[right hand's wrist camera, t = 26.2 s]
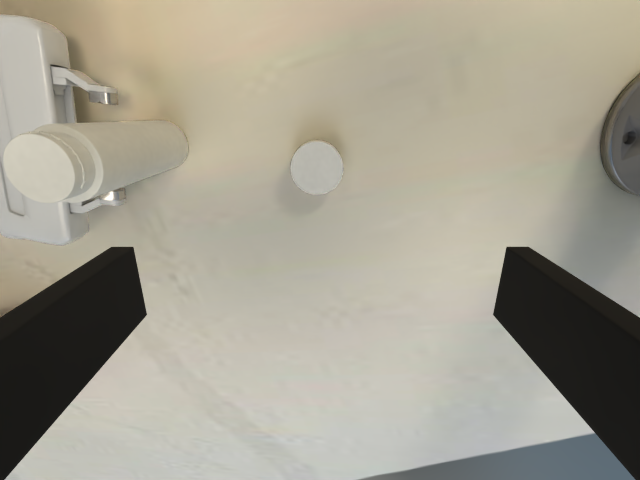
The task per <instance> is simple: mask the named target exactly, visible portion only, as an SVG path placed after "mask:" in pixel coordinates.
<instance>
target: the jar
mask: <svg viewBox="0 0 640 480" xmlns="http://www.w3.org/2000/svg"><path fill="white" fill-rule="evenodd" d="M187 154H188V141H187V138H186V136H185V134H184V133H183V131H182V130H181V129H180V128H179V127H178V126H177V125H175V124H174V123H172V122H169V121H166V120H144V121H116V122H88V123H60V124H47V125H43V126H40V127H38V128H37V129H35V130H34V131H29V132H25V133H23V134H19V135H18V136H16V137H15V138H13V139H12V140H11V141H10V142H9V143H8V144H7V146H6V148H5V151H4V156H3V163H4V168H5V171H6V176H7V177H8V179H9V180H10V182H11V183H12V184H13V185H14V186H15V188H16V189H17V190H18V191H20V192H21V193H22V194H23V195H25V196H26V197H28V198H30V199H32V200H34V201H37V202H41V203H56V202H60V201H63V202H69V203H78V202H83V201H86V200H89V199H91V198H94V197H97V196H99V195H102V194H105V193H108V192H110V191H113V190H116V189H118V188H121V187H124V186H127V185H129V184H132V183H135V182H137V181H140V180H143V179H146V178H148V177H151V176H154V175H156V174H159V173H162V172H165V171H167V170H170V169H173V168H175V167H178V166H180V165H181V164H182V163H183V162H184V161H185V159H186V157H187Z"/></svg>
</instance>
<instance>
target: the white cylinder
mask: <svg viewBox="0 0 640 480" xmlns="http://www.w3.org/2000/svg"><path fill="white" fill-rule="evenodd" d="M343 168H344V167H343V161H342V158H341V156H340V154H339V152H338V151H337V149H336V148H335V147H334V146H333V145H332V144H330V143H328V142H326V141H323V140H311V141H308V142H306V143H304V144H303V145H301V146H300V147H299V148H298V149H297V151H296V152H295V154H294V156H293V158H292V160H291V166H290V171H291V176H292V178H293V181H294V182H295V184H296V185H297V186H298V187H299V188H300V189H301V190H302V191H304V192H306V193H308V194H312V195H322V194H326V193H328V192H330V191H332V190H333V189H334V188H335V187H336V186H337V185H338V184H339V182H340V181H341V178H342V175H343Z"/></svg>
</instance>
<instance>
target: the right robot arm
mask: <svg viewBox="0 0 640 480" xmlns="http://www.w3.org/2000/svg"><path fill="white" fill-rule="evenodd" d="M601 158H602V163H603V166H604V169H605V171H606V173H607V175H608V176H609V178H610V179H611V180H612V181H613V182H614V183H615V184H616V185H617V186H618V187H619V188H621V189H622V190H624V191H626V192H628V193H631V194H634V195H638V196H640V74H639V75H638V76H637V77H636V78H635V79H634V80H633V81H632V82H631V83H630V84H629V85H628V86H627V87H626V88H625V89H624V91H623V92H622V93H621V94H620V96H619V97H618V99H617V100H616V101H615V103H614V105H613V107H612V108H611V110H610V112H609V114H608V116H607V119H606V122H605V125H604V128H603V132H602V137H601ZM146 315H147V313H146V308H145V303H144V298H143V293H142V288H141V283H140V278H139V273H138V268H137V263H136V258H135V253H134V248H133V247H111V248H109V249H107V250H106V251H104V252H103V253H101V254H100V255H98V256H96V257H95V258H93V259H92V260H90V261H89V262H87V263H85V264H84V265H82V266H81V267H79V268H78V269H76V270H74V271H73V272H71V273H70V274H68V275H67V276H65V277H63V278H62V279H60V280H59V281H57V282H56V283H54V284H52V285H51V286H49V287H48V288H46V289H45V290H43V291H41V292H40V293H38V294H37V295H35V296H34V297H32V298H30V299H29V300H27V301H26V302H24V303H23V304H21V305H19V306H18V307H16V308H15V309H13V310H12V311H10V312H8V313H7V314H5V315H4V316H2V317H1V318H0V480H4V479H5V478H6V477H7V476H8V475H9V474H10V473H11V471H12V470H13V469H14V468H15V467H16V466H17V464H18V463H19V462H20V461H21V460H22V459H23V457H24V456H25V455H26V454H27V453H28V452H29V451H30V449H31V448H32V447H33V446H34V445H35V444H36V442H37V441H38V440H39V439H40V438H41V437H42V436H43V434H44V433H45V432H46V431H47V430H48V429H49V427H50V426H51V425H52V424H53V423H54V422H55V420H56V419H57V418H58V417H59V416H60V415H61V414H62V412H63V411H64V410H65V409H66V408H67V407H68V405H69V404H70V403H71V402H72V401H73V400H74V398H75V397H76V396H77V395H78V394H79V393H80V392H81V390H82V389H83V388H84V387H85V386H86V385H87V383H88V382H89V381H90V380H91V379H92V378H93V376H94V375H95V374H96V373H97V372H98V371H99V370H100V368H101V367H102V366H103V365H104V364H105V363H106V361H107V360H108V359H109V358H110V357H111V356H112V354H113V353H114V352H115V351H116V350H117V349H118V348H119V346H120V345H121V344H122V343H123V342H124V341H125V339H126V338H127V337H128V336H129V335H130V334H131V332H132V331H133V330H134V329H135V328H136V327H137V326H138V324H139V323H140V322H141V321H142V320H143V319H144V317H145V316H146ZM493 315H494V316H495V317H496V319H497V320H498V321H499V322H500V323H501V324H502V326H503V327H504V328H505V329H506V330H507V331H508V332H509V334H510V335H511V336H512V337H513V338H514V339H515V341H516V342H517V343H518V344H519V345H520V346H521V348H522V349H523V350H524V351H525V352H526V353H527V354H528V356H529V357H530V358H531V359H532V360H533V361H534V363H535V364H536V365H537V366H538V367H539V368H540V370H541V371H542V372H543V373H544V374H545V375H546V376H547V378H548V379H549V380H550V381H551V382H552V383H553V385H554V386H555V387H556V388H557V389H558V390H559V392H560V393H561V394H562V395H563V396H564V397H565V398H566V400H567V401H568V402H569V403H570V404H571V405H572V407H573V408H574V409H575V410H576V411H577V412H578V414H579V415H580V416H581V417H582V418H583V419H584V420H585V422H586V423H587V424H588V425H589V426H590V427H591V429H592V430H593V431H594V432H595V433H596V434H597V435H598V437H599V438H600V439H601V440H602V441H603V442H604V444H605V445H606V446H607V447H608V448H609V449H610V451H611V452H612V453H613V454H614V455H615V456H616V457H617V459H618V460H619V461H620V462H621V463H622V464H623V466H624V467H625V468H626V469H627V470H628V471H629V473H630V474H631V475H632V476H633V477H634V478H635V479H636V480H640V318H639V317H638V316H636V315H635V314H633V313H632V312H630V311H628V310H627V309H625V308H624V307H622V306H621V305H619V304H617V303H616V302H614V301H613V300H611V299H610V298H608V297H606V296H605V295H603V294H602V293H600V292H599V291H597V290H595V289H594V288H592V287H591V286H589V285H588V284H586V283H584V282H583V281H581V280H580V279H578V278H577V277H575V276H573V275H572V274H570V273H569V272H567V271H566V270H564V269H562V268H561V267H559V266H558V265H556V264H555V263H553V262H551V261H550V260H548V259H547V258H545V257H544V256H542V255H540V254H539V253H537V252H536V251H534V250H533V249H531V248H529V247H507V248H506V253H505V258H504V263H503V268H502V273H501V278H500V283H499V288H498V293H497V298H496V303H495V308H494V313H493Z"/></svg>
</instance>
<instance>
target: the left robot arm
mask: <svg viewBox="0 0 640 480" xmlns="http://www.w3.org/2000/svg"><path fill="white" fill-rule="evenodd" d="M73 86H76V87H81V88H82V89H84V90H85V91H87V92H88V93H89V100H90V102H95V103H103V104H115V105H118V92H117V88H113V87H105V86H99V84H98V83H97V82H95V81H94V80H92V79H91V78H90V77H88V76H87V75H85V74H84V73H83V72H81V71H78V70H72V69H70V60H69V52H68V43H67V38H66V36H65V35H64V34H63V33H62V32H61V31H60V30H59V29H58V28H56V27H55V26H54V25H52V24H50V23H47V22H44V21H41V20H38V19H34V18H31V17H26V16H18V15H6V14H0V234H1V235H2V236H4V237H7V238H14V239H28V240H32V241H36V242H41V243H47V244H53V245H66V244H69V243H72V242H74V241H76V240H78V239H79V238H81V237H82V236H84V235H85V234H86V233H87V232H88V231H89V229H90V227H89V218H88V211H90V210H93V209H95V208H97V207H100V206H102V205H112V206H120V205H123V204H125V203H126V194H125V188H118V189H116V190H113V191H110V192H108V193H105V194H102V195H100V198H98V199H96V200H95V198H91V199H89V200H86V201H83V202H78V203H69V202H63V201H60V202H56V203H41V202H37V201H34V200H32V199H30V198H28V197H26V196H25V195H23V194H22V193H21V192H20V191H18V190H17V189H16V188H15V186H14V185H13V184H12V183H11V182H10V180H9V179H8V177H7V176H6V171H5V168H4V163H3V156H4V151H5V148H6V146H7V144H8V143H9V142H10V141H11V140H12V139H13V138H15V137H16V136H18V135H19V134H23V133H25V132H29V131H34V130H35V129H37V128H38V127H40V126H43V125H47V124H60V123H77V118H76V110H75V102H74V94H73Z"/></svg>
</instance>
